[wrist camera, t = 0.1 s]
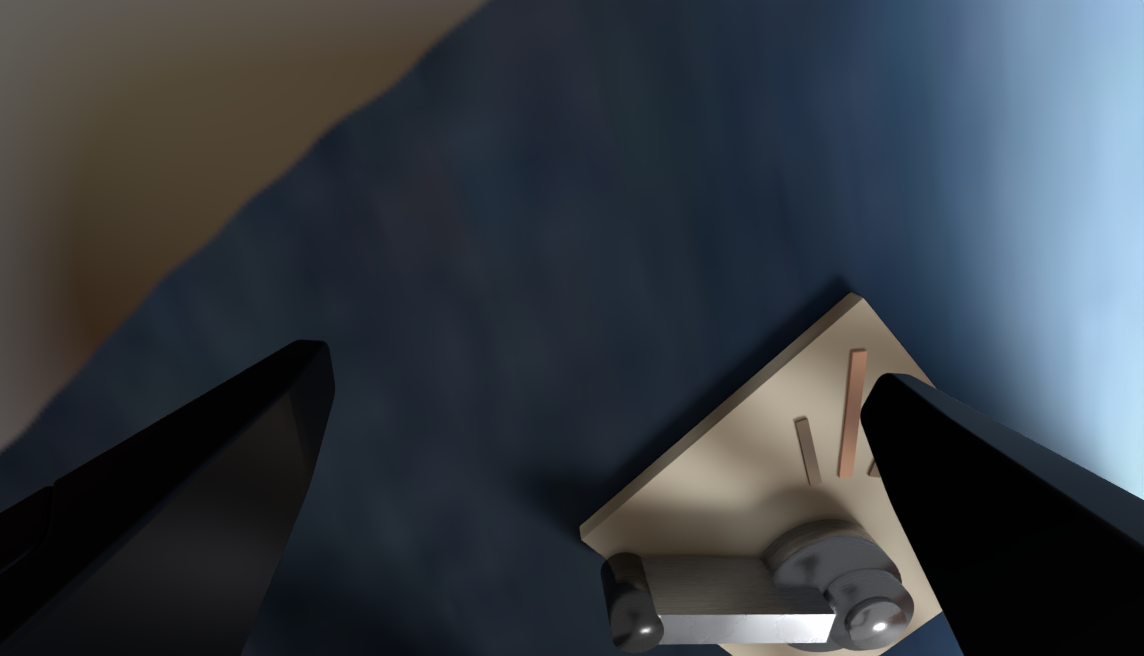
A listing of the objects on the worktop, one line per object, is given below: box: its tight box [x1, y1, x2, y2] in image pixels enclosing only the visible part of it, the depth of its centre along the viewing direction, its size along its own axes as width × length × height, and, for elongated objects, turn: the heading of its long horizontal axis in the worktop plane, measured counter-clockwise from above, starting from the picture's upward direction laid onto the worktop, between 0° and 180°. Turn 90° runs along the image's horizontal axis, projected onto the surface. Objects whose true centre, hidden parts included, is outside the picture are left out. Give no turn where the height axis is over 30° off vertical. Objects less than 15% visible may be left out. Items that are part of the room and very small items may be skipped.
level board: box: [580, 292, 942, 656], centre depth 30 cm, size 18×20×1 cm
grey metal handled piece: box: [601, 519, 914, 653], centre depth 27 cm, size 15×7×4 cm, turn 84°
